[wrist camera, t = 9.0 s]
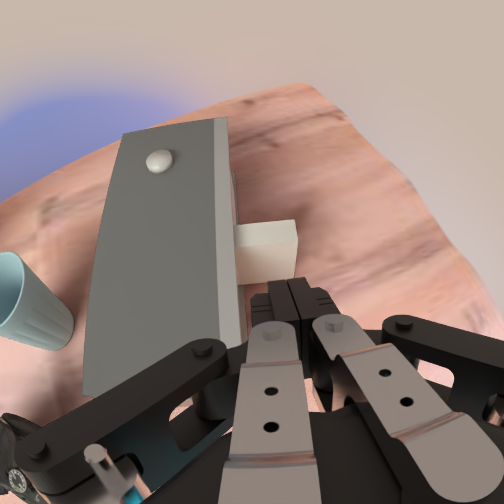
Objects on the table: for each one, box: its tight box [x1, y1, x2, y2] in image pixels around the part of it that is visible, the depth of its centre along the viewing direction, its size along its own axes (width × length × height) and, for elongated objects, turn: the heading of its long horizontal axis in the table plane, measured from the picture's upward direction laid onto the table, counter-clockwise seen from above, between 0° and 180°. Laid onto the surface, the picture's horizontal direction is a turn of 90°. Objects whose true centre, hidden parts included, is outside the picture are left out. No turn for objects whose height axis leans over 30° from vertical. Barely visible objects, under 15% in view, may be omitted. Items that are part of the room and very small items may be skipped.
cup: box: [0, 251, 74, 351], centre depth 26 cm, size 8×8×10 cm
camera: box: [0, 413, 49, 504], centre depth 18 cm, size 13×10×10 cm
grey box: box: [82, 117, 248, 406], centre depth 29 cm, size 11×27×10 cm, turn 5°
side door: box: [230, 171, 298, 285], centre depth 30 cm, size 6×11×7 cm, turn 5°
